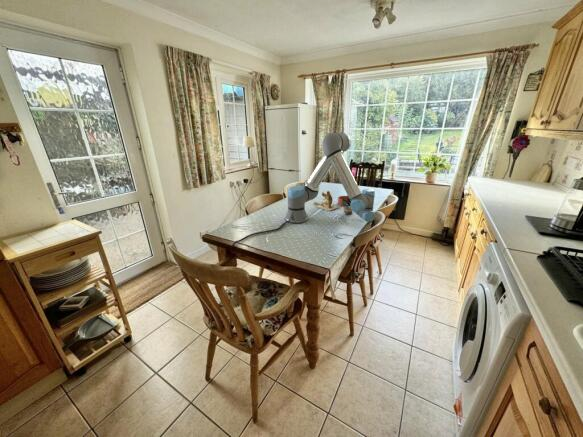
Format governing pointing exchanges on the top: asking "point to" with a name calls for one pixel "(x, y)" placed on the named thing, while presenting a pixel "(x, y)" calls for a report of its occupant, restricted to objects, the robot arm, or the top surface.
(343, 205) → the bowl
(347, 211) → the dish brush
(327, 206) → the wooden toy
